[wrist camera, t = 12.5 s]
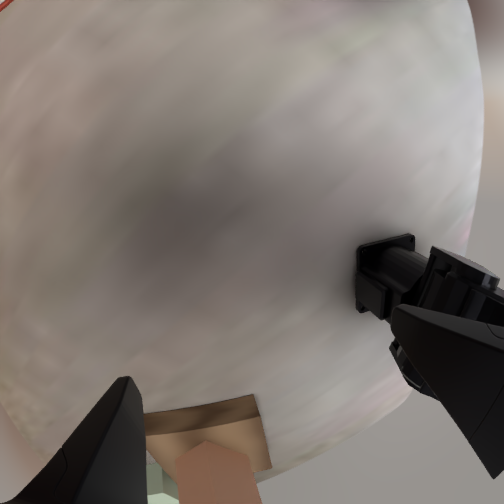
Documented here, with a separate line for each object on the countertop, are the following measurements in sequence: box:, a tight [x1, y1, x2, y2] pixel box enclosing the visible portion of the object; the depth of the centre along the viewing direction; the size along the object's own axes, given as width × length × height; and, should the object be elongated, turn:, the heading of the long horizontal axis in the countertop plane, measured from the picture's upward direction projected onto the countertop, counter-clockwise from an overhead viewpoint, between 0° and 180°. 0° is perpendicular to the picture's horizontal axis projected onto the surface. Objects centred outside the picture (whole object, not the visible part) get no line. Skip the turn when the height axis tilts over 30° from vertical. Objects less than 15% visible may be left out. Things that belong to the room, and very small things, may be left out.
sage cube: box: [146, 463, 179, 504], centre depth 26 cm, size 5×5×5 cm
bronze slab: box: [143, 394, 272, 484], centre depth 26 cm, size 12×12×3 cm
